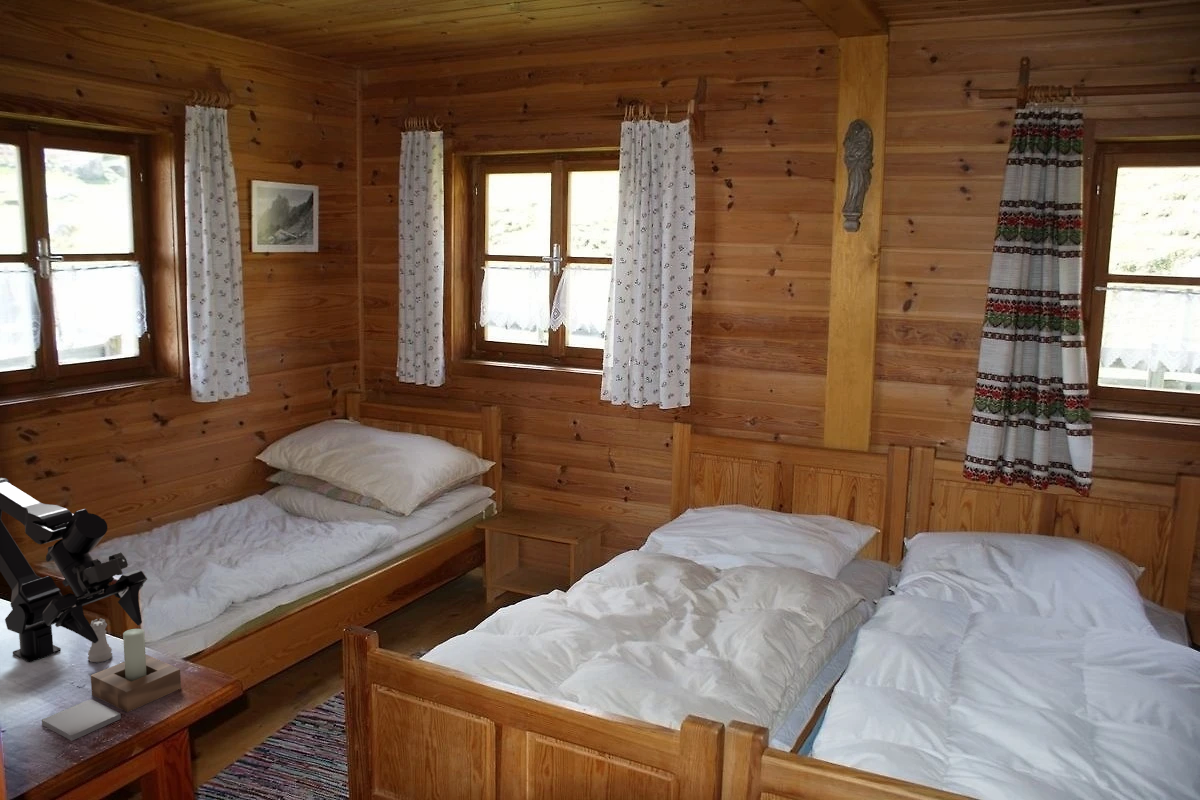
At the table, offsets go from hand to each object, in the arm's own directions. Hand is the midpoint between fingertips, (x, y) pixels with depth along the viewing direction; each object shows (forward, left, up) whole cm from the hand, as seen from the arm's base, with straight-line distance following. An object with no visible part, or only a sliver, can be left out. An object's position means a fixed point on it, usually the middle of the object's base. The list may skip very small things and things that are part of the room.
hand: (119, 632), depth 182 cm
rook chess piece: (-14, +4, -11) cm, 18 cm away
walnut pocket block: (+4, 0, -11) cm, 12 cm away
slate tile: (+6, -12, -11) cm, 17 cm away
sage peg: (+4, 0, -11) cm, 12 cm away
